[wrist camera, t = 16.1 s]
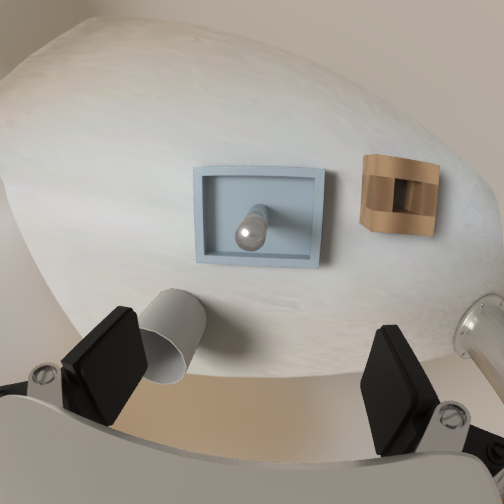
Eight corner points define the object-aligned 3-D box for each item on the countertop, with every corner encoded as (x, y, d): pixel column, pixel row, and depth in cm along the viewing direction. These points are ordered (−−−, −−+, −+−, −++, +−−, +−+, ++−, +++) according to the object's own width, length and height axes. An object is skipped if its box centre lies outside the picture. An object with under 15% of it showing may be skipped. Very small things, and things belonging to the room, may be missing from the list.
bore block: (421, 164, 27) (439, 165, 23) (415, 227, 30) (432, 236, 26) (363, 155, 28) (376, 154, 24) (359, 222, 31) (371, 231, 26)
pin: (270, 203, 30) (265, 222, 21) (269, 224, 31) (265, 252, 22) (248, 203, 30) (234, 221, 21) (248, 224, 31) (234, 251, 22)
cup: (208, 294, 35) (185, 337, 26) (207, 343, 38) (188, 390, 29) (150, 284, 36) (114, 320, 27) (154, 332, 39) (125, 373, 29)
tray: (321, 168, 29) (324, 169, 27) (315, 261, 33) (318, 268, 30) (199, 166, 31) (193, 166, 28) (202, 256, 34) (196, 263, 32)
